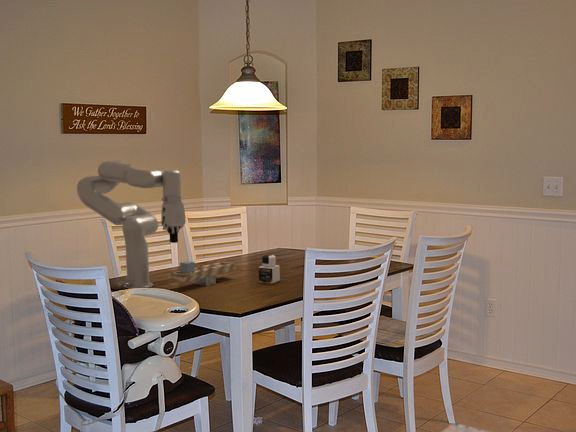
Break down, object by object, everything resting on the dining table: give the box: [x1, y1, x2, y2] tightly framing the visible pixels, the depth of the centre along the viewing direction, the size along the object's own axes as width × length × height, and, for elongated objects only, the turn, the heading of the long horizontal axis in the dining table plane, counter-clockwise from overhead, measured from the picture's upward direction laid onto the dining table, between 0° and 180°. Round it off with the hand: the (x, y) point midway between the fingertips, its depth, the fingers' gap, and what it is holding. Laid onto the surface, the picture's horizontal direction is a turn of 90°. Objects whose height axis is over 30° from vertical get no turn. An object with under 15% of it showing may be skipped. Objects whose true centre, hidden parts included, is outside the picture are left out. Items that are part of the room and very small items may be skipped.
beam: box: [170, 261, 237, 283], centre depth 318 cm, size 32×8×4 cm, turn 141°
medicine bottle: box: [258, 254, 281, 284], centre depth 320 cm, size 7×7×12 cm
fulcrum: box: [193, 275, 217, 287], centre depth 318 cm, size 6×8×4 cm
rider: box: [179, 260, 196, 274], centre depth 310 cm, size 4×4×5 cm
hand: (173, 242), depth 302 cm, fingers closed
